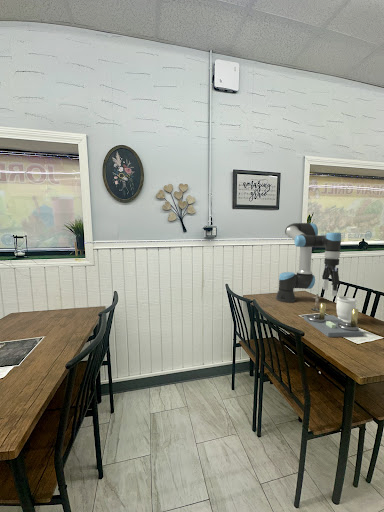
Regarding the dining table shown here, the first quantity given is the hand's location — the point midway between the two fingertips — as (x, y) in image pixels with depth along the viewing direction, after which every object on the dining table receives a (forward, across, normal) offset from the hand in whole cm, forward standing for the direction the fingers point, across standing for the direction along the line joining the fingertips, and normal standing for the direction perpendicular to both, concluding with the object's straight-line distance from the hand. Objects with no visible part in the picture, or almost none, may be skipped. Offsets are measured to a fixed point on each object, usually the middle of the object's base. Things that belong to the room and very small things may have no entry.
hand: (329, 292), depth 133 cm
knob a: (+18, +2, +6) cm, 20 cm away
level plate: (+21, -2, -1) cm, 21 cm away
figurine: (+21, +27, -2) cm, 35 cm away
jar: (+21, +11, -14) cm, 28 cm away
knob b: (+19, -6, -9) cm, 22 cm away
